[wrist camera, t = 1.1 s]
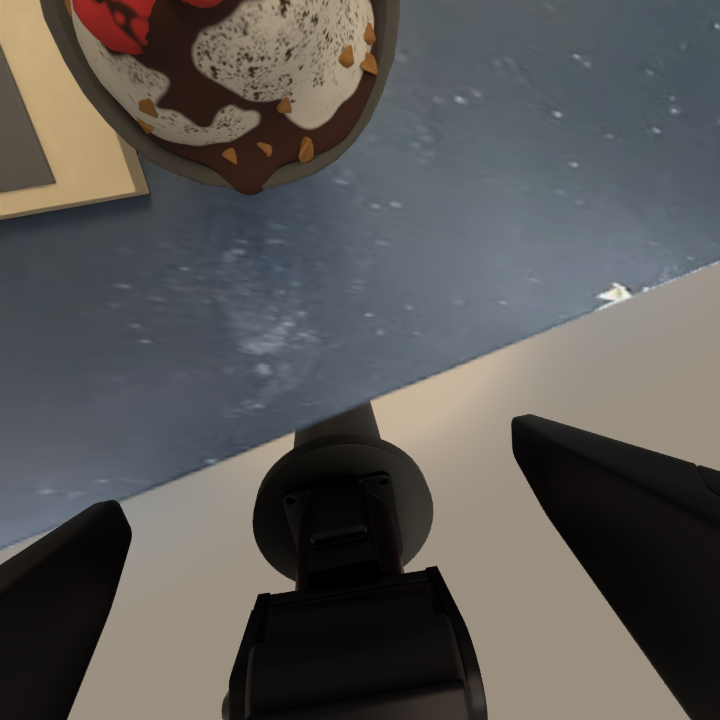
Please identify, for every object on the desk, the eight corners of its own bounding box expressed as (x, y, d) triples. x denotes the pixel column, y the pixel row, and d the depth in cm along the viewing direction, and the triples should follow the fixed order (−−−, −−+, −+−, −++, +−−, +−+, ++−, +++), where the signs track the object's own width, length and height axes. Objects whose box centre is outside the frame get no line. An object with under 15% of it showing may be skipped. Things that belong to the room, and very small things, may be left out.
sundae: (200, 198, 18) (-227, 150, 4) (187, 10, 15) (-1024, -1888, 1) (349, 208, 19) (455, 196, 5) (357, 30, 16) (622, -1097, 2)
